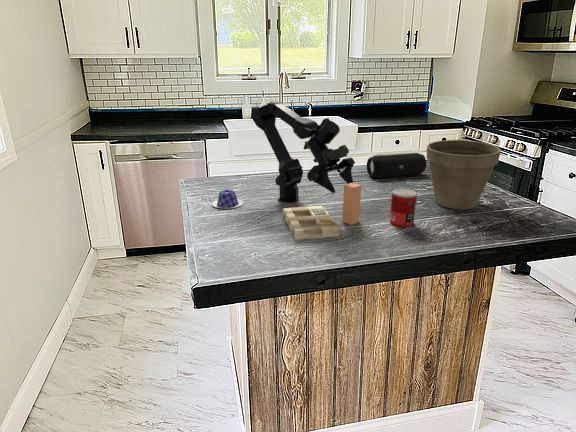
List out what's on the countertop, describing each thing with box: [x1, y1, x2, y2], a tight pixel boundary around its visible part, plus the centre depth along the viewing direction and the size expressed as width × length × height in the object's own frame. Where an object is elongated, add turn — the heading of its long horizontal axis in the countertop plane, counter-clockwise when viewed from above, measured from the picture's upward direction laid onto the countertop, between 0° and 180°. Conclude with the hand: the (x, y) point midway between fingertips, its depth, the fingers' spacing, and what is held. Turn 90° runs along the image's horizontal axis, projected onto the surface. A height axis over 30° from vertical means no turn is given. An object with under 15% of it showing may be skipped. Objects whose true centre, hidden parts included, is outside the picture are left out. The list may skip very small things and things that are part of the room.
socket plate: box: [282, 205, 341, 241], centre depth 147 cm, size 20×14×3 cm
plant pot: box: [426, 139, 502, 210], centre depth 164 cm, size 25×25×22 cm
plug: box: [341, 182, 362, 226], centre depth 149 cm, size 4×4×13 cm
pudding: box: [211, 189, 245, 209], centre depth 168 cm, size 12×12×5 cm
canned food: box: [389, 188, 418, 228], centre depth 148 cm, size 8×8×11 cm
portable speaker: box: [366, 152, 427, 179], centre depth 202 cm, size 26×10×10 cm, turn 103°
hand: (343, 189), depth 150 cm, fingers open, 9 cm apart
